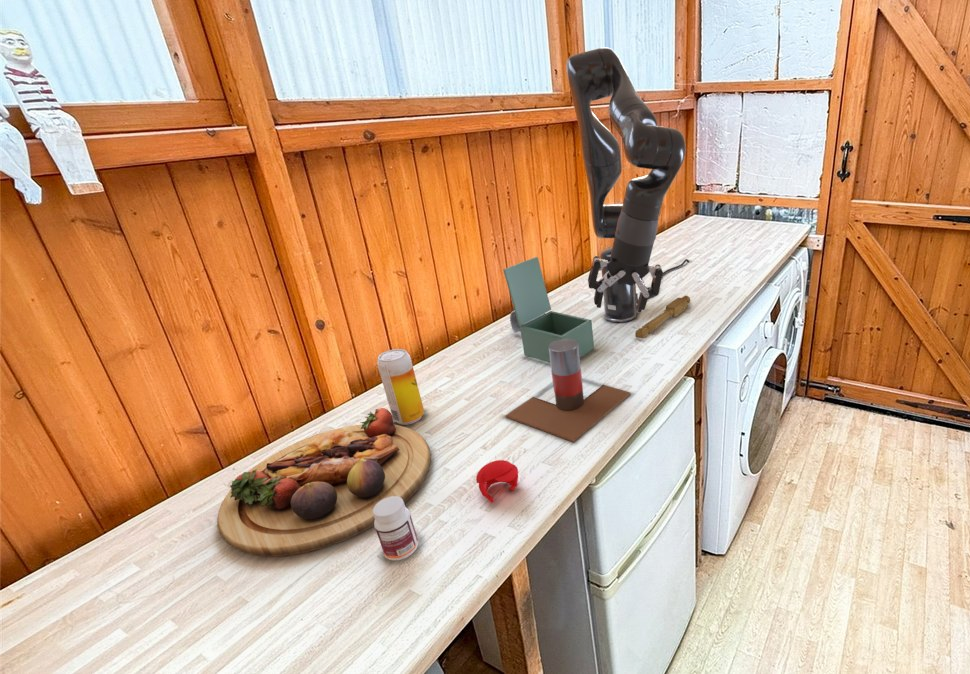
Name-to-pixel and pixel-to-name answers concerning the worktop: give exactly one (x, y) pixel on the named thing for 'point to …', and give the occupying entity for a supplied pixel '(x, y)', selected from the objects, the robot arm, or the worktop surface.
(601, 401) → the mat
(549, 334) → the bin
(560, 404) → the tin
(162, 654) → the worktop surface
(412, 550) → the pill bottle
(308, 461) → the wooden plate
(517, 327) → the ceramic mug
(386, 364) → the beer can
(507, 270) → the bin lid
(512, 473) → the cap
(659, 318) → the tap handle
